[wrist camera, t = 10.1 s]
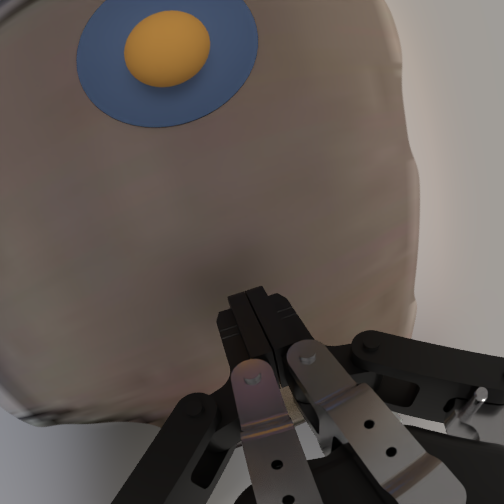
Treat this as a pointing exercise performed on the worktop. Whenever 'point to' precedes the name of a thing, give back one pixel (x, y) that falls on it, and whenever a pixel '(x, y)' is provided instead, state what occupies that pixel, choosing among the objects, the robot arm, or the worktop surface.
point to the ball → (167, 48)
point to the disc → (175, 97)
